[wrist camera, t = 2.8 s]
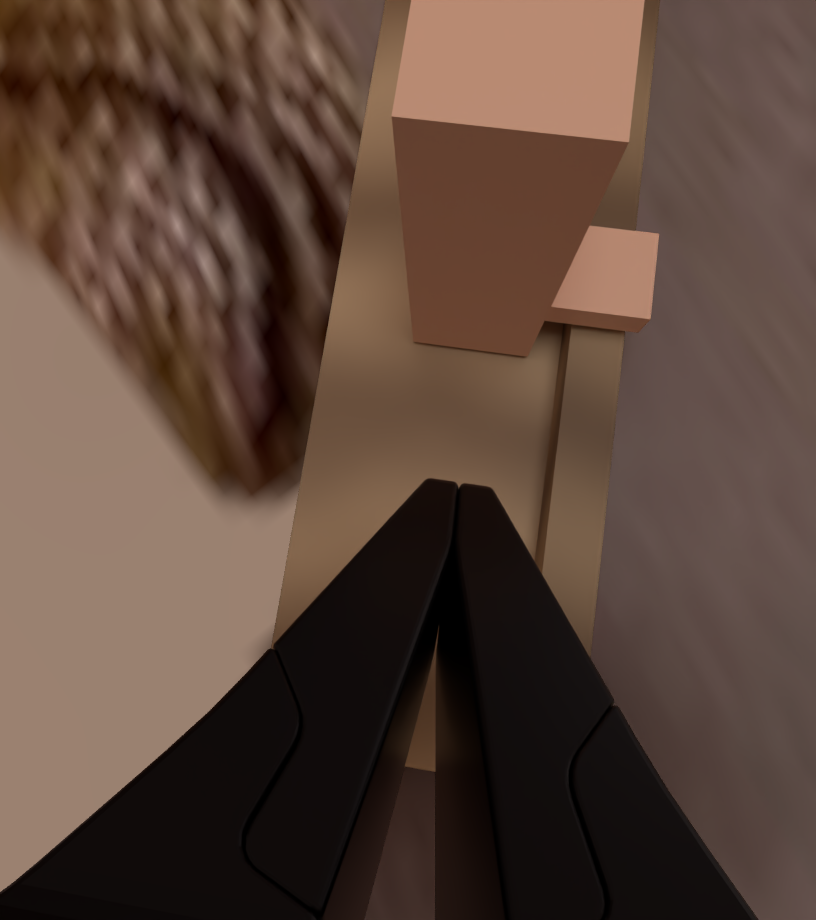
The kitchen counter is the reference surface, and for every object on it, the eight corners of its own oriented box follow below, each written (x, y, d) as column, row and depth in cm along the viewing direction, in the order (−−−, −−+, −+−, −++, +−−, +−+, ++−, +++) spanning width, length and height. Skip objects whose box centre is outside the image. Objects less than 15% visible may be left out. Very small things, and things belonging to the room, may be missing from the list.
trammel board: (563, 782, 18) (750, 1111, 8) (264, 730, 19) (35, 967, 8) (662, -128, 23) (870, -747, 12) (417, -149, 23) (403, -758, 13)
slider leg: (619, 369, 19) (823, 163, 9) (413, 341, 19) (391, 116, 9) (630, 259, 19) (836, -49, 9) (429, 235, 20) (425, -85, 10)
